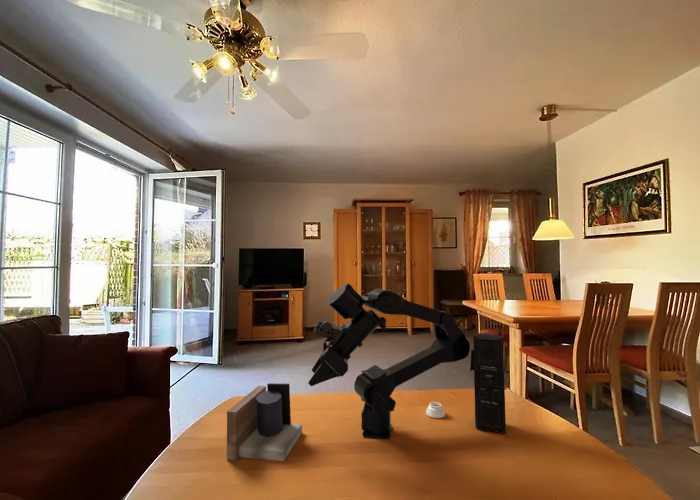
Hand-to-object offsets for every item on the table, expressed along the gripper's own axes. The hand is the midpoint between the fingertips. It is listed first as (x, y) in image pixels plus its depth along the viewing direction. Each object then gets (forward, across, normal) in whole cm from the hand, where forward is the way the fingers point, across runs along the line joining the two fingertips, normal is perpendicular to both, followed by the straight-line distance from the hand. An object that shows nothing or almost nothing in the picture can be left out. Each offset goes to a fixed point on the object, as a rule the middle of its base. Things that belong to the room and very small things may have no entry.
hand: (311, 377), depth 81 cm
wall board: (+16, +4, +4) cm, 16 cm away
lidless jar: (-13, -9, +33) cm, 37 cm away
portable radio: (-21, -2, +41) cm, 46 cm away
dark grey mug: (+14, +2, +2) cm, 15 cm away
